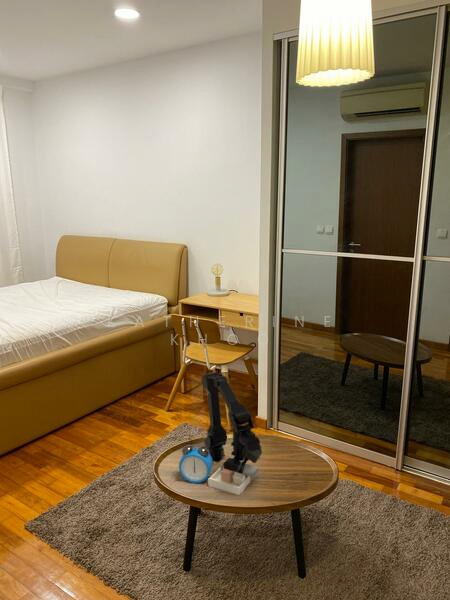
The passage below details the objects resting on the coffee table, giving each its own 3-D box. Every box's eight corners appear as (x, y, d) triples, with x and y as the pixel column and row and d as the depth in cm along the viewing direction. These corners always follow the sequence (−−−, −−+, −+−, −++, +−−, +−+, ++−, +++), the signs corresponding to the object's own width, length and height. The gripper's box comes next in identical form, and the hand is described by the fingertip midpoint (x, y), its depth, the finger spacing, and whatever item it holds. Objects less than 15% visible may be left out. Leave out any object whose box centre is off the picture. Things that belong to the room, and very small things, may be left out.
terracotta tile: (224, 477, 190) (221, 480, 188) (224, 468, 189) (221, 471, 187) (233, 480, 188) (230, 483, 186) (232, 471, 187) (230, 474, 185)
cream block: (237, 478, 188) (234, 483, 186) (235, 471, 185) (232, 477, 184) (246, 480, 186) (244, 486, 184) (244, 474, 184) (242, 479, 182)
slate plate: (220, 473, 194) (220, 468, 193) (229, 464, 201) (229, 458, 200) (250, 482, 187) (250, 476, 187) (258, 472, 194) (258, 466, 194)
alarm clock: (179, 482, 188) (177, 448, 185) (183, 473, 194) (181, 441, 191) (210, 485, 186) (209, 451, 183) (213, 476, 192) (212, 443, 189)
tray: (208, 486, 185) (208, 478, 185) (220, 473, 194) (220, 466, 193) (239, 495, 179) (239, 487, 178) (250, 482, 187) (250, 474, 187)
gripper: (248, 455, 171) (249, 492, 174) (267, 433, 187) (268, 468, 190) (222, 448, 176) (223, 485, 180) (243, 428, 193) (244, 461, 196)
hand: (240, 474), depth 186 cm, fingers closed
